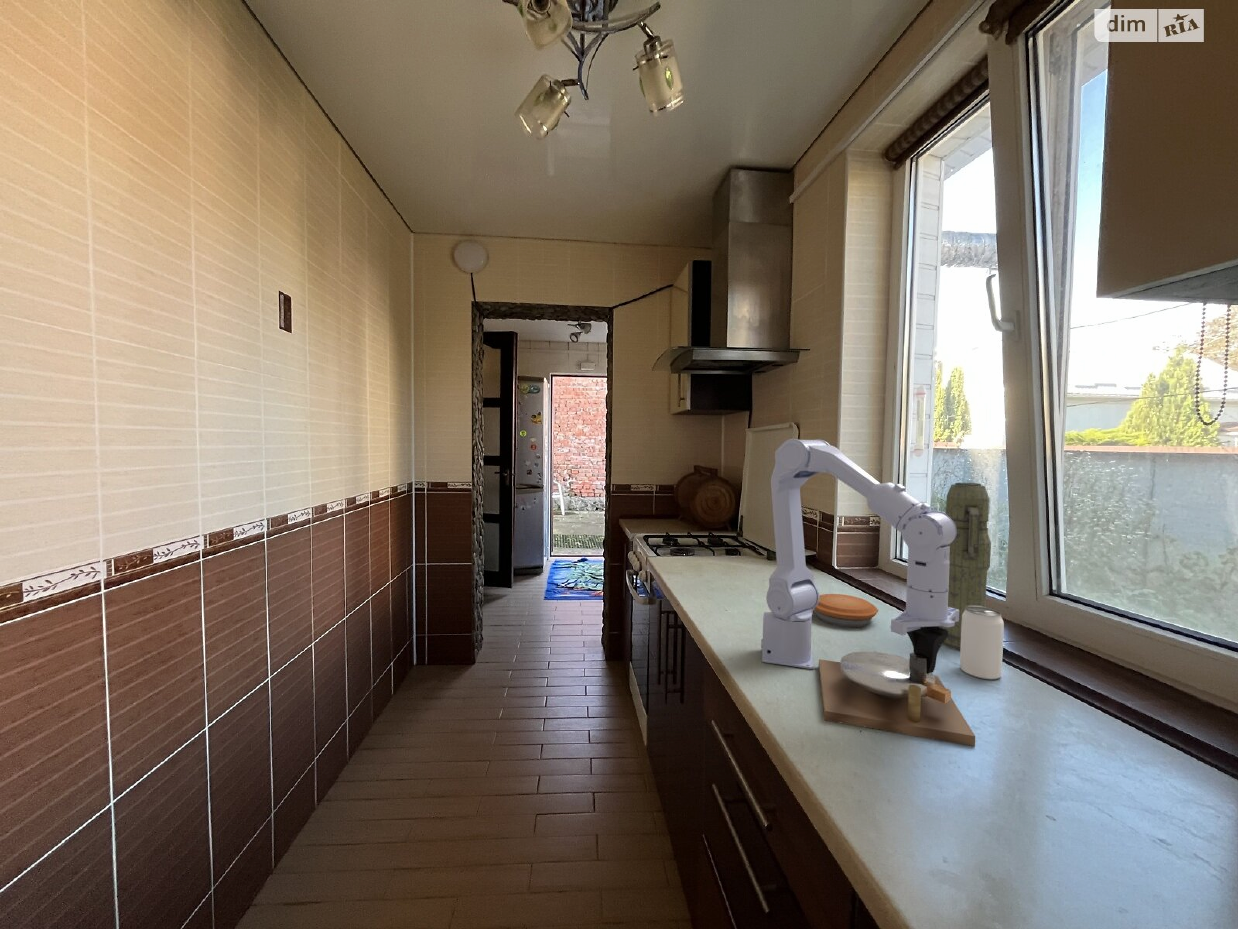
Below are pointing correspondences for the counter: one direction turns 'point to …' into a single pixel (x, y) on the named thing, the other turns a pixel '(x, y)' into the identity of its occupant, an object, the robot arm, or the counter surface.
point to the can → (981, 642)
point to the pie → (845, 610)
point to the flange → (892, 674)
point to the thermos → (967, 552)
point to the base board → (891, 709)
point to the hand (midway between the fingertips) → (924, 670)
